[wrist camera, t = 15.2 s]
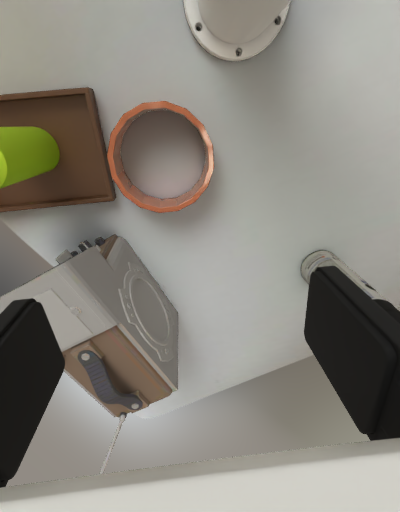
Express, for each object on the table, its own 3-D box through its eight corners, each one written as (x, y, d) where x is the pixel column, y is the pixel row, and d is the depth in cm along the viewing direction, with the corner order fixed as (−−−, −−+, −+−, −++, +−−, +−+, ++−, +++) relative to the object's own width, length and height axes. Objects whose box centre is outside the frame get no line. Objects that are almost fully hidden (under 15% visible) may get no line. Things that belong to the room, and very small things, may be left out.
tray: (-51, 101, 35) (-64, 100, 33) (92, 89, 35) (88, 87, 34) (-6, 209, 41) (-14, 213, 39) (116, 197, 42) (113, 201, 40)
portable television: (107, 209, 42) (-17, 361, 15) (182, 316, 52) (187, 522, 25) (44, 244, 44) (-166, 436, 17) (129, 341, 54) (80, 559, 27)
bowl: (106, 109, 36) (96, 107, 32) (206, 100, 37) (210, 96, 32) (126, 207, 42) (120, 216, 38) (212, 198, 43) (216, 207, 38)
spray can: (331, 281, 51) (413, 367, 33) (296, 282, 51) (360, 369, 33) (340, 249, 48) (436, 323, 30) (303, 249, 48) (378, 325, 30)
